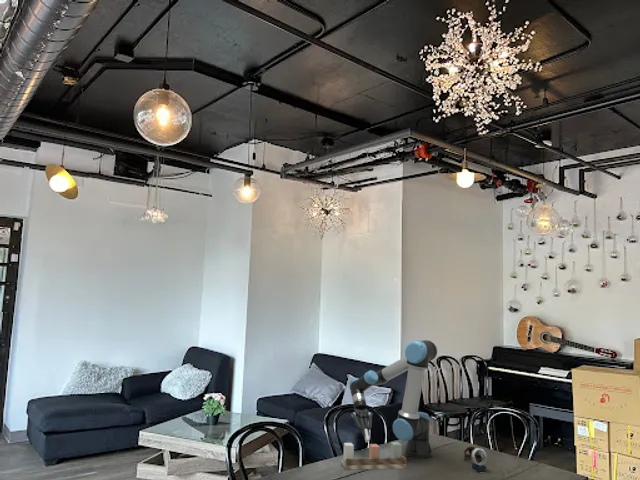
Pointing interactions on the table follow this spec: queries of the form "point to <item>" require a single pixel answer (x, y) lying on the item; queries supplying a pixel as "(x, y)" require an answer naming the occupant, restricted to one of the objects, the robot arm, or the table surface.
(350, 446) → the off-white key
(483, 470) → the small desk fan
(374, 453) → the terracotta key
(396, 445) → the pale green upright block
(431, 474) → the table surface
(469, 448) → the pottery mug
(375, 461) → the birch key console
